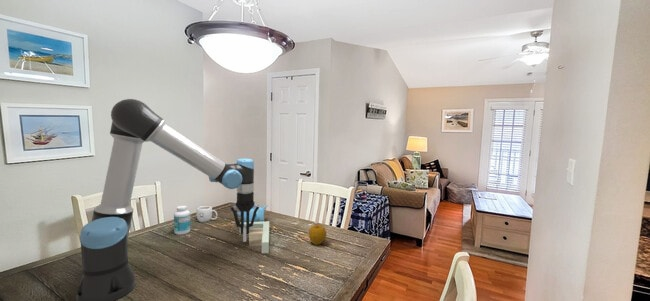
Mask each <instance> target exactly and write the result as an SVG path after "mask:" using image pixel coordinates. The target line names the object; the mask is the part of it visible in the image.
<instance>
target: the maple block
mask: <svg viewBox="0 0 650 301" xmlns="http://www.w3.org/2000/svg"><path fill="white" fill-rule="evenodd" d="M262 234H263V228H255V229H250V232H249V234H248V246H249V247H256V246H257V247H258V246H262Z"/></svg>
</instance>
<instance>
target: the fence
mask: <svg viewBox="0 0 650 301" xmlns="http://www.w3.org/2000/svg"><path fill="white" fill-rule="evenodd" d="M239 222H240V224H241V221H239ZM249 223H251V222H249ZM244 226H246V222H244ZM238 228H239V235H241V228H240V227H238ZM255 228H263V234H262V245H261V254H269V253H270V252H269V249H270V221H269V220H268V221H265V220H264V222H254V223H253V226H252V227H249V232H250V229H255Z"/></svg>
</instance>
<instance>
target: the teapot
mask: <svg viewBox="0 0 650 301" xmlns="http://www.w3.org/2000/svg"><path fill="white" fill-rule="evenodd" d="M267 207H269V205H268V204H266V205H264V206H263V207H261V206H259V209H258V210H257V212H256V216H255V219H254V222H264V221H265V210H266V208H267ZM253 213H254V206H253V208H252V209H251V210H250V212H249V222H251V220H252V216H253ZM237 214H238V217H240V218H241V211H237ZM244 222H246V212H244Z"/></svg>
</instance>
